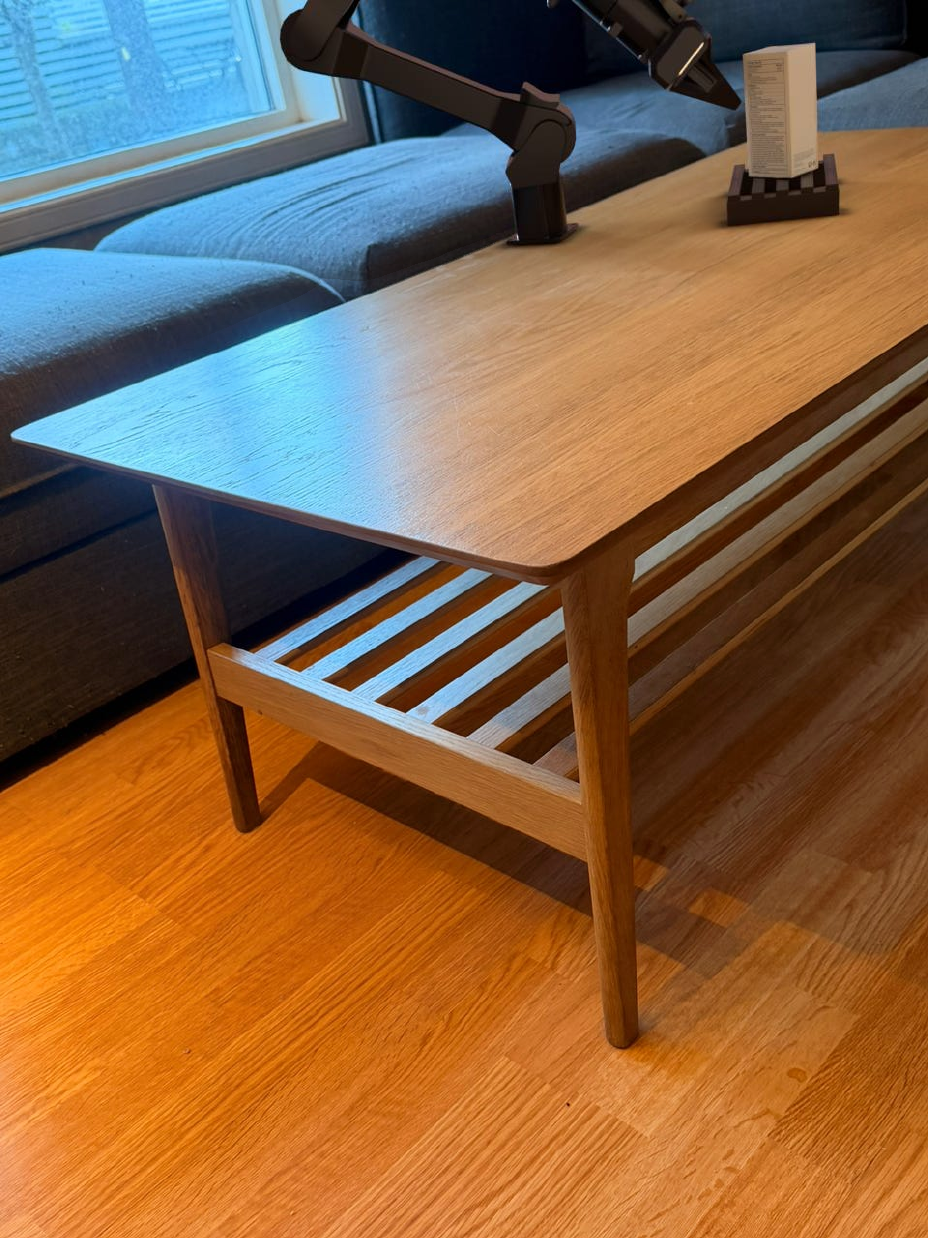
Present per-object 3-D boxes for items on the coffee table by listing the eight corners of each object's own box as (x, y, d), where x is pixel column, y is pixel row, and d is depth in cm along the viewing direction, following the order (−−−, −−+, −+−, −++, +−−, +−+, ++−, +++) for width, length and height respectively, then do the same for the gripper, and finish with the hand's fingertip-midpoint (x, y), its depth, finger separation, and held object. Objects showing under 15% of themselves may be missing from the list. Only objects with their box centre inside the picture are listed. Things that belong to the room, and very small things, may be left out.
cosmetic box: (819, 169, 118) (819, 41, 112) (790, 179, 117) (789, 50, 110) (773, 167, 123) (771, 44, 117) (744, 176, 121) (741, 52, 115)
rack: (839, 214, 113) (839, 183, 112) (727, 225, 116) (726, 195, 115) (834, 181, 126) (835, 152, 125) (734, 192, 129) (733, 164, 128)
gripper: (679, -80, 101) (805, 37, 105) (664, -78, 117) (774, 23, 121) (599, 32, 106) (722, 139, 110) (595, 19, 122) (703, 113, 126)
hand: (732, 100), depth 117 cm, fingers open, 9 cm apart
